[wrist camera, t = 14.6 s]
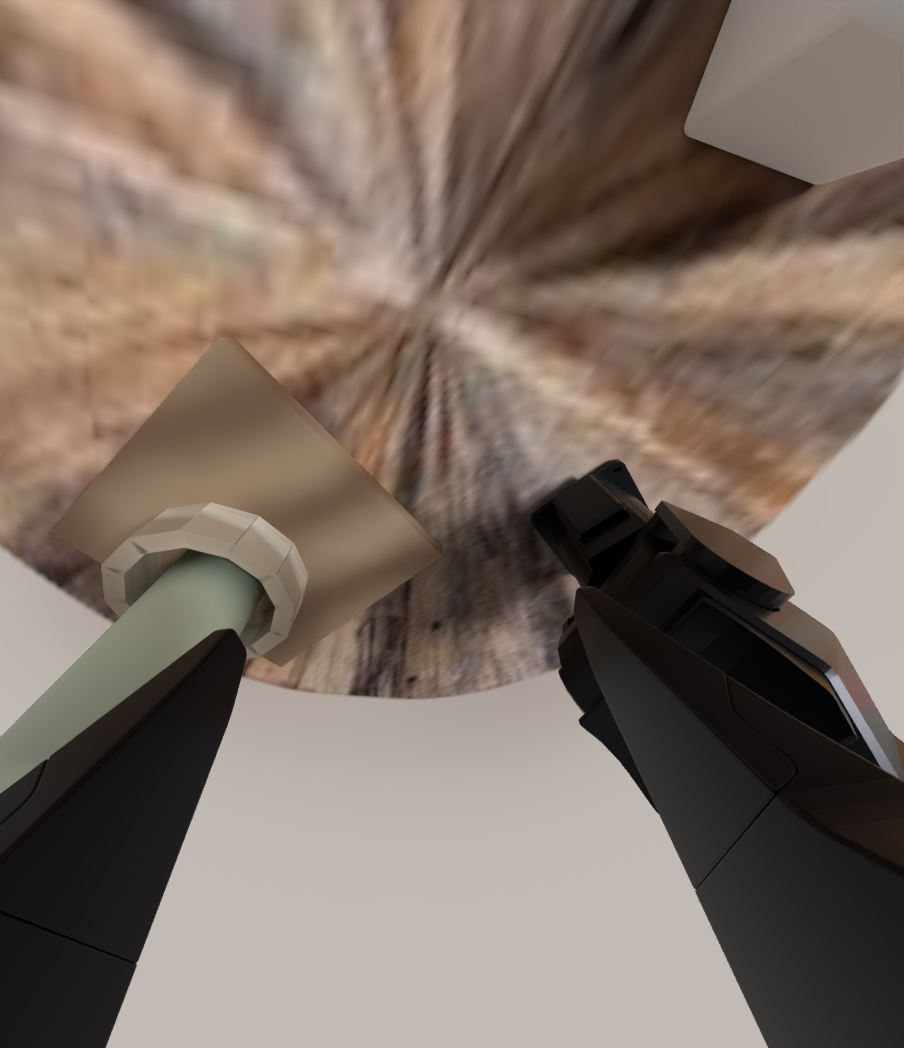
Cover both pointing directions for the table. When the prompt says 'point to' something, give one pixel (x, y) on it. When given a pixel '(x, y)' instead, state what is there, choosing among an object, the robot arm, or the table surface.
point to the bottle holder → (248, 507)
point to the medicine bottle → (806, 86)
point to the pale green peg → (132, 654)
